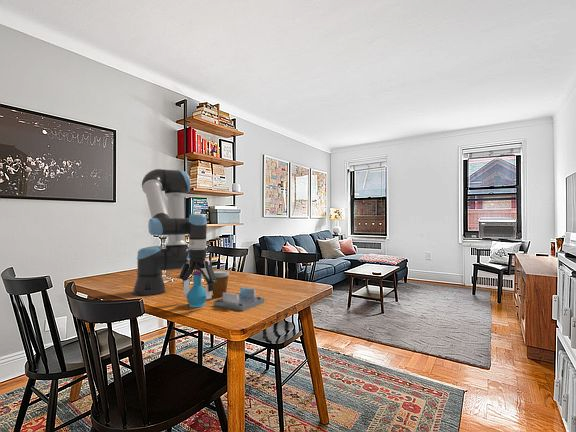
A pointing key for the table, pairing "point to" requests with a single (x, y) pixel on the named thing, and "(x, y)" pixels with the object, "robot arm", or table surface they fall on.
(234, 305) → the base
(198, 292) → the perfume bottle
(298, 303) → the table surface
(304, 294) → the table surface
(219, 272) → the disposable coffee cup
